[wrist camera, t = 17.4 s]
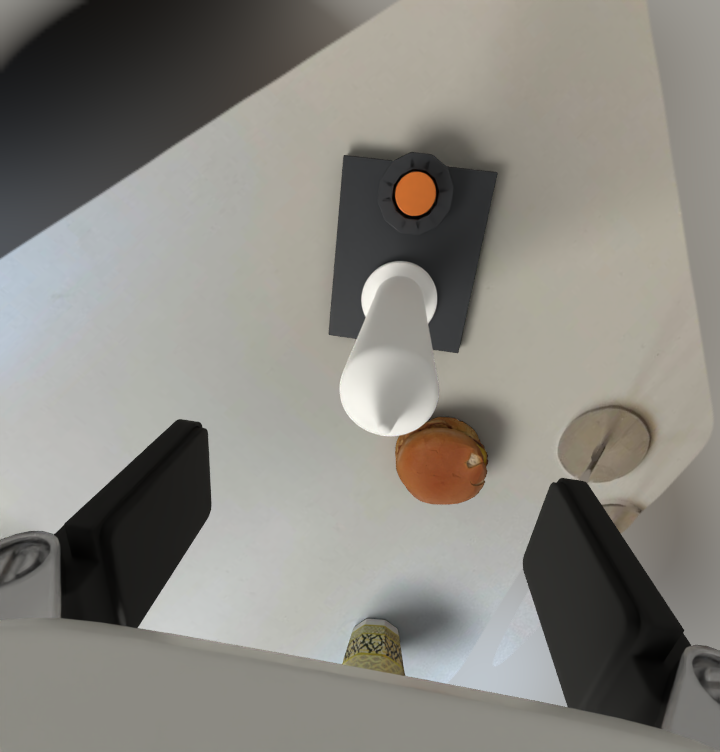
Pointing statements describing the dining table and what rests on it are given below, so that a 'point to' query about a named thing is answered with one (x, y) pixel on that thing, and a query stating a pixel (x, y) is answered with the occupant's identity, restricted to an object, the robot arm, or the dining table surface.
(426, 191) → the button
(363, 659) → the ceramic cup
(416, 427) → the candle
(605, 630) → the robot arm
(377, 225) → the scale
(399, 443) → the burger
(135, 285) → the dining table surface
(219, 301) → the dining table surface
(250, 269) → the dining table surface
